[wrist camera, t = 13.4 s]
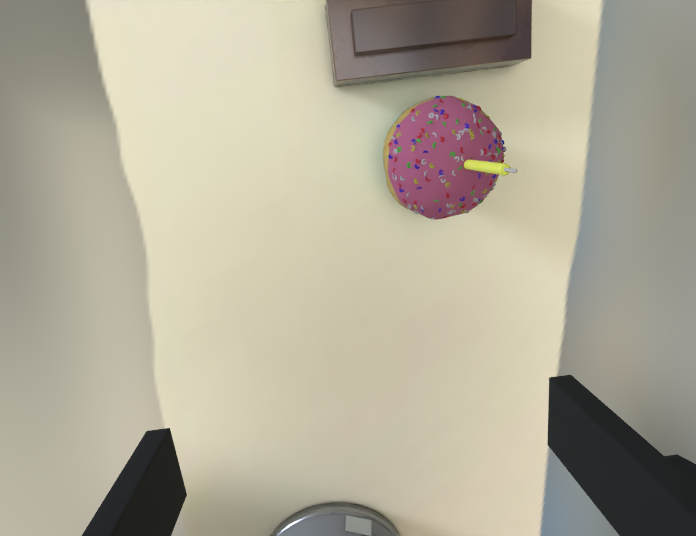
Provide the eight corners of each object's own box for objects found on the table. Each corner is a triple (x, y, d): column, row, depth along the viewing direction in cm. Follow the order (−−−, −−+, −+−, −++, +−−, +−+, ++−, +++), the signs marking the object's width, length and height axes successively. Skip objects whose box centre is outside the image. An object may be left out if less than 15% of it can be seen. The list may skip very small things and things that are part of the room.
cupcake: (489, 111, 34) (575, 94, 22) (466, 215, 36) (534, 249, 24) (384, 95, 33) (417, 69, 21) (368, 203, 35) (390, 231, 24)
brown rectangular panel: (511, -15, 31) (539, -38, 27) (512, 66, 33) (538, 55, 29) (325, 7, 31) (325, -14, 27) (334, 87, 32) (336, 79, 28)
